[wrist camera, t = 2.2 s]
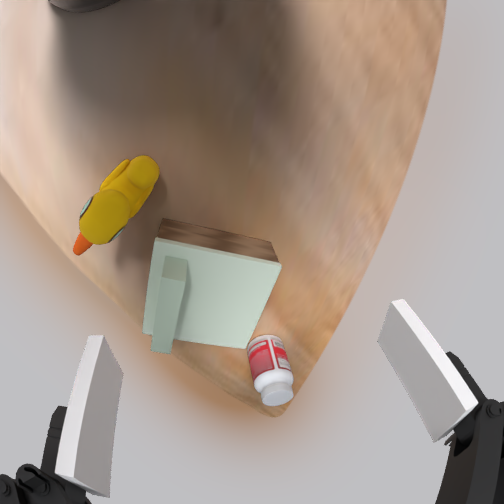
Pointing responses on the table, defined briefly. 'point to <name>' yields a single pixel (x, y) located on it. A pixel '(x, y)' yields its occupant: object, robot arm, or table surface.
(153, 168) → the duckling
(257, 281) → the lid
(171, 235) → the box
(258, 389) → the pill bottle
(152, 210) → the table surface
